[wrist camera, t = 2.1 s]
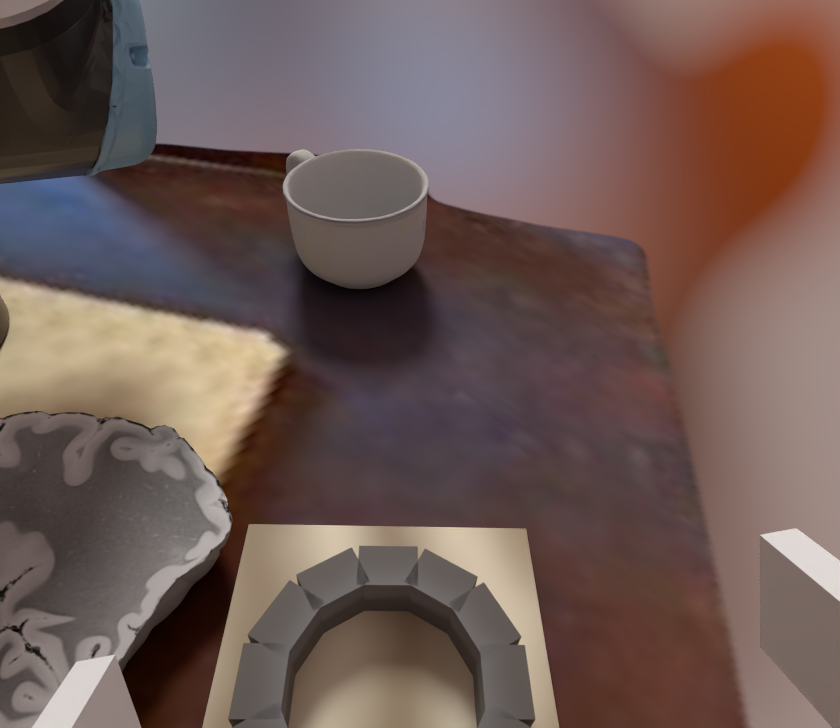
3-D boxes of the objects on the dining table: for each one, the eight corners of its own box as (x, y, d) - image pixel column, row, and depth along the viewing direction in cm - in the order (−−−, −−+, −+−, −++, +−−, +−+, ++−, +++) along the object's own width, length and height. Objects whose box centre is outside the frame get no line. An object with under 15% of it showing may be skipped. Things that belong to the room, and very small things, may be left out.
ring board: (150, 999, 18) (113, 1003, 15) (252, 536, 30) (240, 495, 27) (593, 990, 19) (627, 991, 16) (521, 540, 30) (535, 500, 28)
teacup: (448, 283, 47) (457, 191, 42) (329, 324, 43) (322, 227, 37) (364, 209, 56) (363, 125, 50) (257, 237, 51) (243, 148, 45)
